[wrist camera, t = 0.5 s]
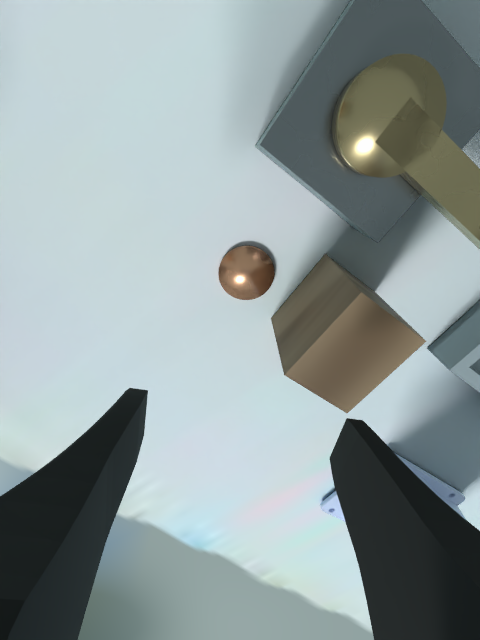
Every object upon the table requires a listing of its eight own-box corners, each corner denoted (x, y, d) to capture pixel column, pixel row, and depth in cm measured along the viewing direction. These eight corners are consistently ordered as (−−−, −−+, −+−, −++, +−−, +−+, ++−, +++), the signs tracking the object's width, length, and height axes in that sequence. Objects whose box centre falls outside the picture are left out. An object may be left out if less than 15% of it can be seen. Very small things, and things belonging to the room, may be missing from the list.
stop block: (374, 291, 20) (426, 341, 15) (319, 349, 22) (347, 413, 16) (325, 253, 19) (361, 292, 14) (271, 318, 21) (284, 374, 15)
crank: (311, 134, 14) (329, 130, 11) (383, 33, 12) (422, 2, 10) (493, 296, 17) (539, 321, 14) (566, 231, 16) (630, 246, 13)
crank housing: (459, 109, 16) (505, 99, 13) (276, 324, 21) (283, 349, 18) (354, -6, 14) (383, -44, 11) (180, 260, 19) (171, 278, 16)
